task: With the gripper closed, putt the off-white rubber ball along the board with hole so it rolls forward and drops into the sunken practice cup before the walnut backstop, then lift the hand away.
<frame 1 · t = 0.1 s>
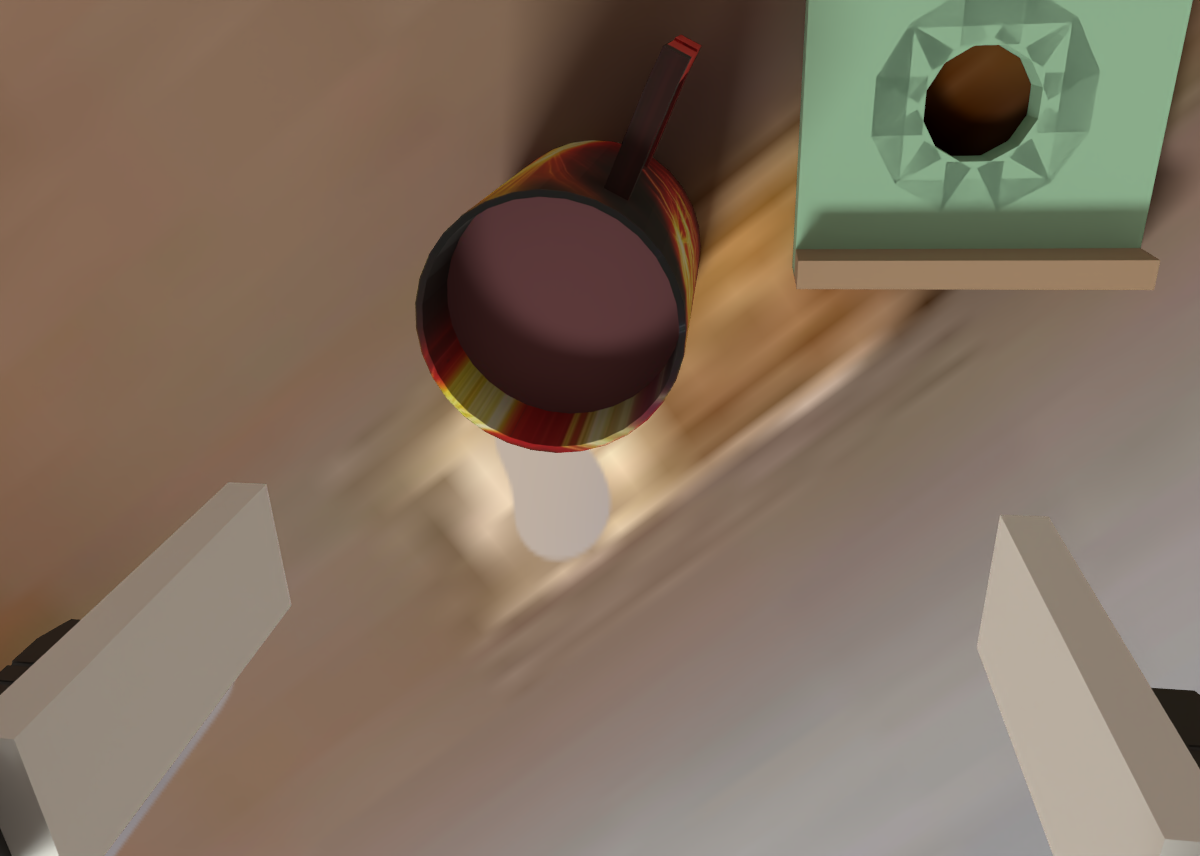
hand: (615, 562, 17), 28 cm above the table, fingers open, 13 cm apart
mug: (596, 200, 42), on the table
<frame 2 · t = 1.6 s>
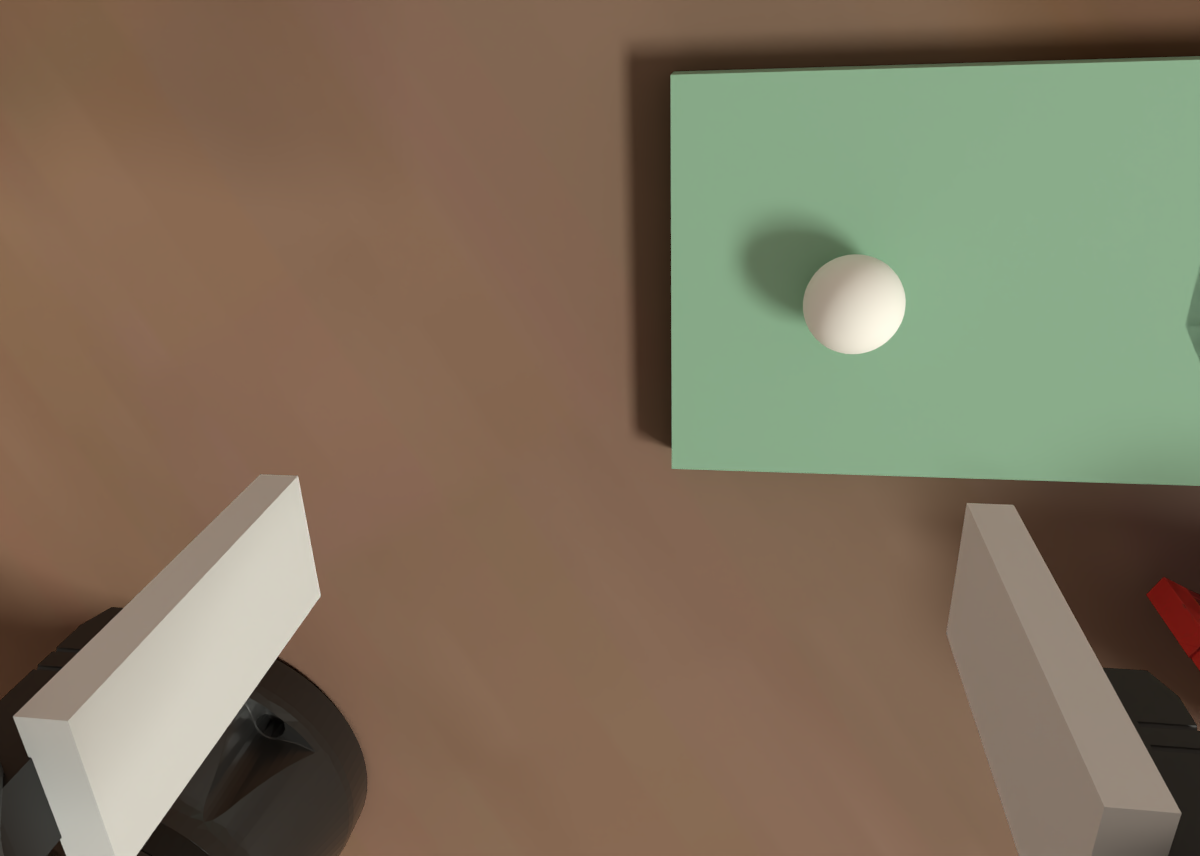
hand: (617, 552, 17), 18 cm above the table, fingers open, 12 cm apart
board with hole: (1083, 278, 31), on the table
ball: (853, 304, 30), point 3 cm above the table, touching board with hole
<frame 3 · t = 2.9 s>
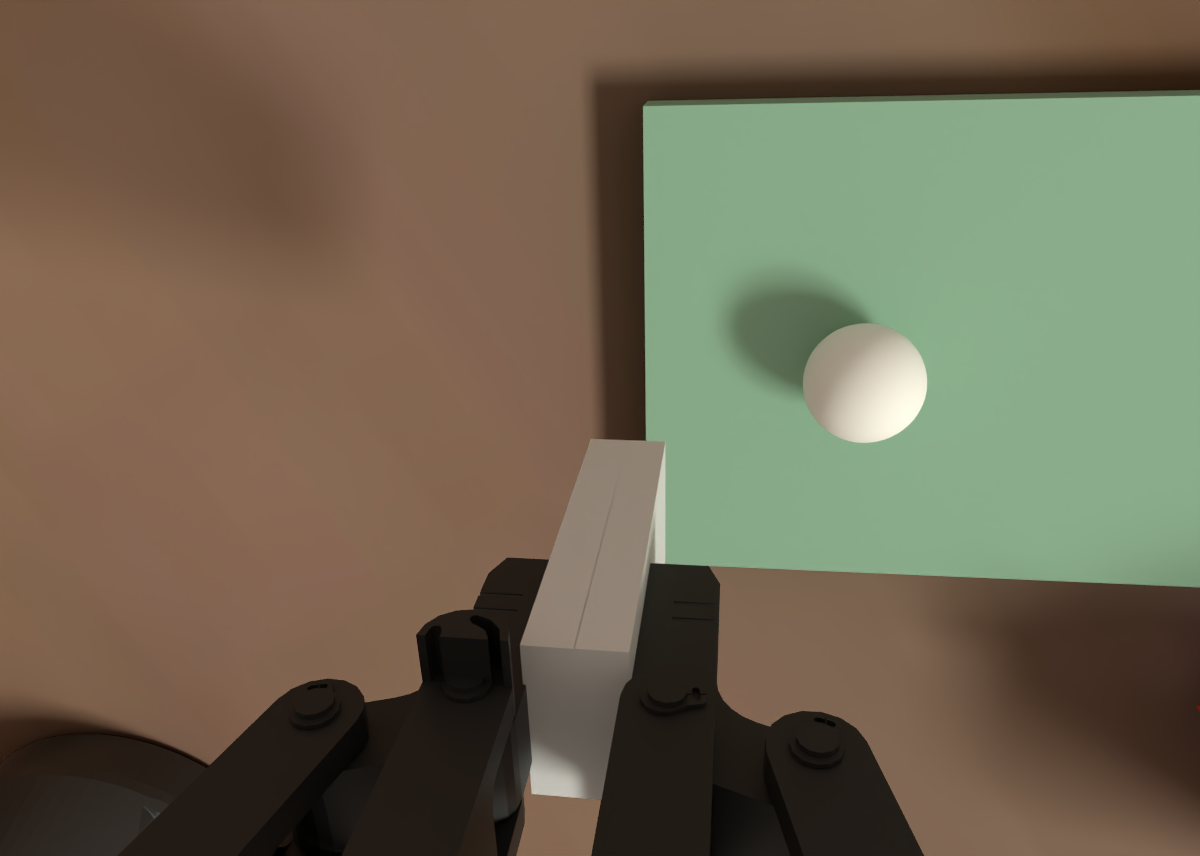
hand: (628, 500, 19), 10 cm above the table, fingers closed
board with hole: (1133, 347, 26), on the table
ball: (863, 383, 24), point 3 cm above the table, touching board with hole
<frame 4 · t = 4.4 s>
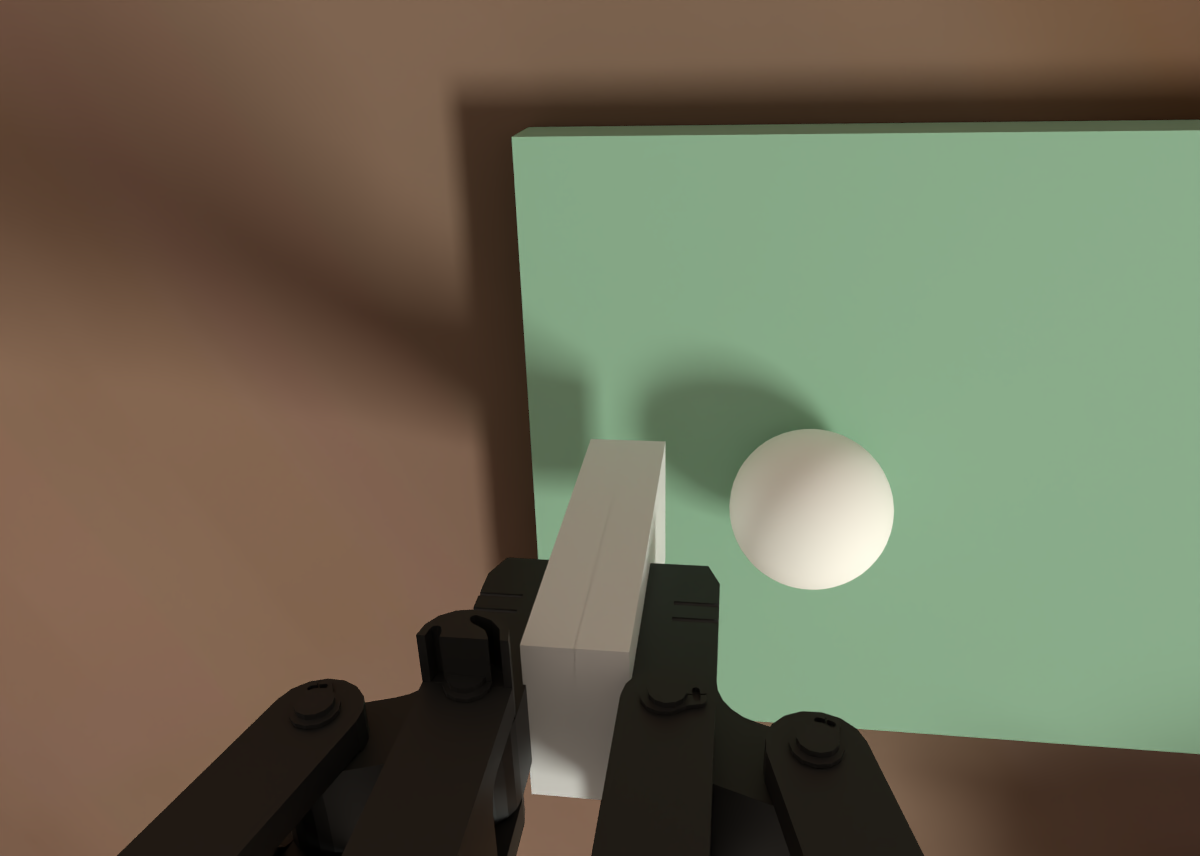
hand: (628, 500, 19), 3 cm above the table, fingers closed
board with hole: (1170, 452, 20), on the table
ball: (810, 508, 18), point 3 cm above the table, touching board with hole
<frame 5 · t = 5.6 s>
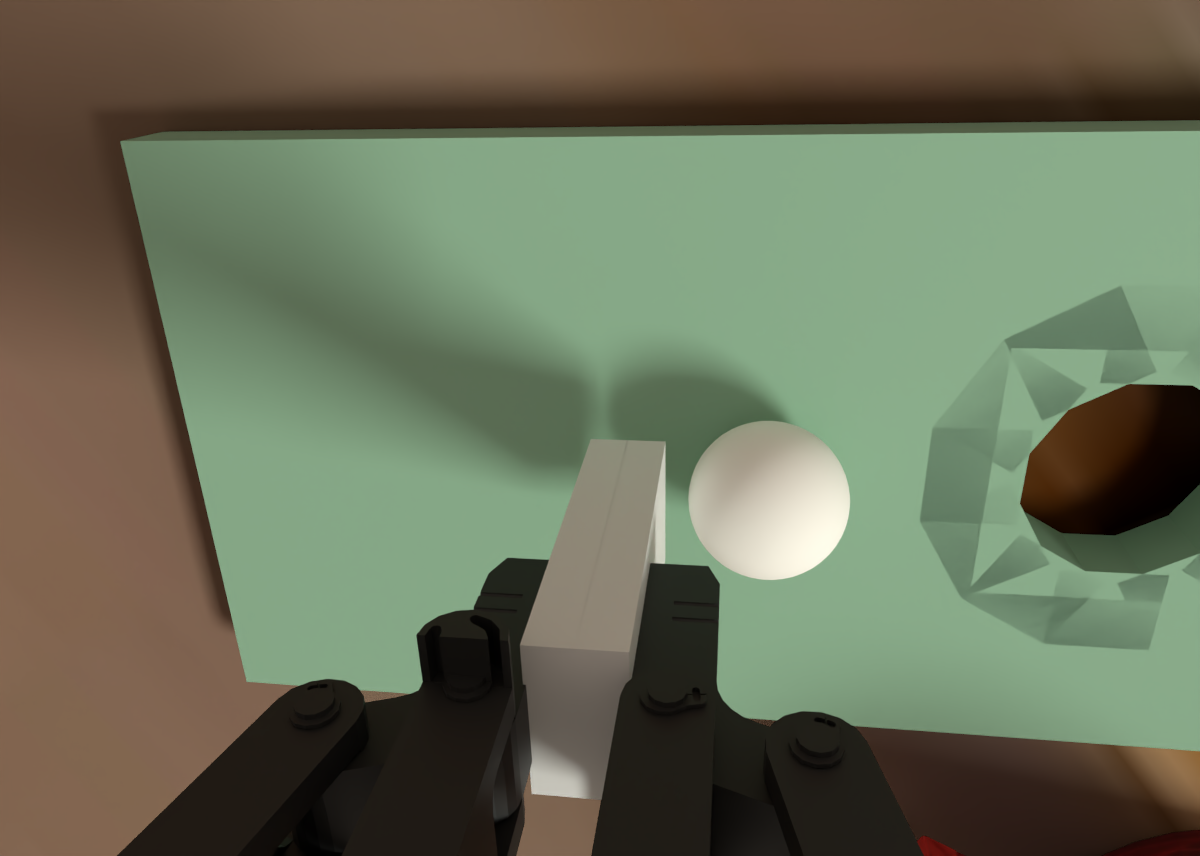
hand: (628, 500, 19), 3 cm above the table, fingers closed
board with hole: (788, 438, 21), on the table
ball: (767, 499, 18), point 3 cm above the table, tilted 97°, touching board with hole
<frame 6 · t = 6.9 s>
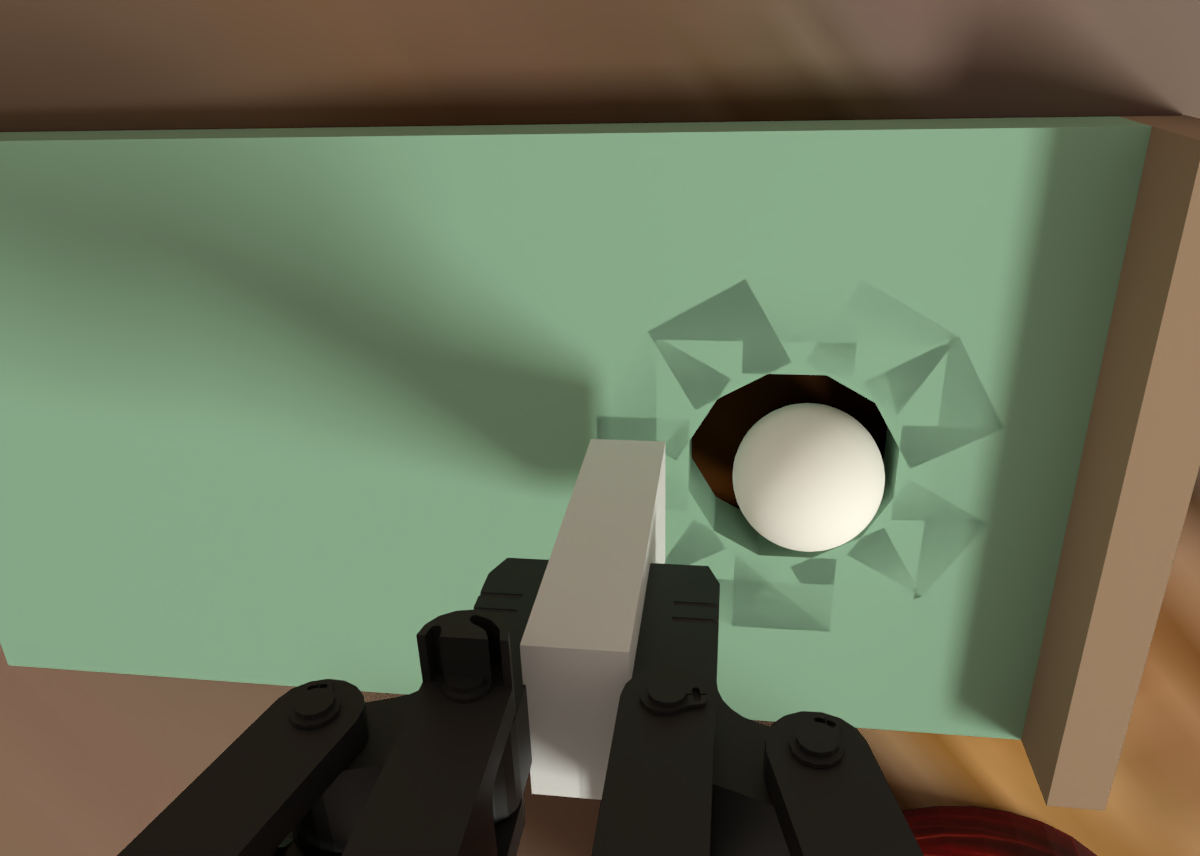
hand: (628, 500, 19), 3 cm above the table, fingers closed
board with hole: (492, 428, 22), on the table
ball: (807, 477, 20), point 2 cm above the table, tilted 148°
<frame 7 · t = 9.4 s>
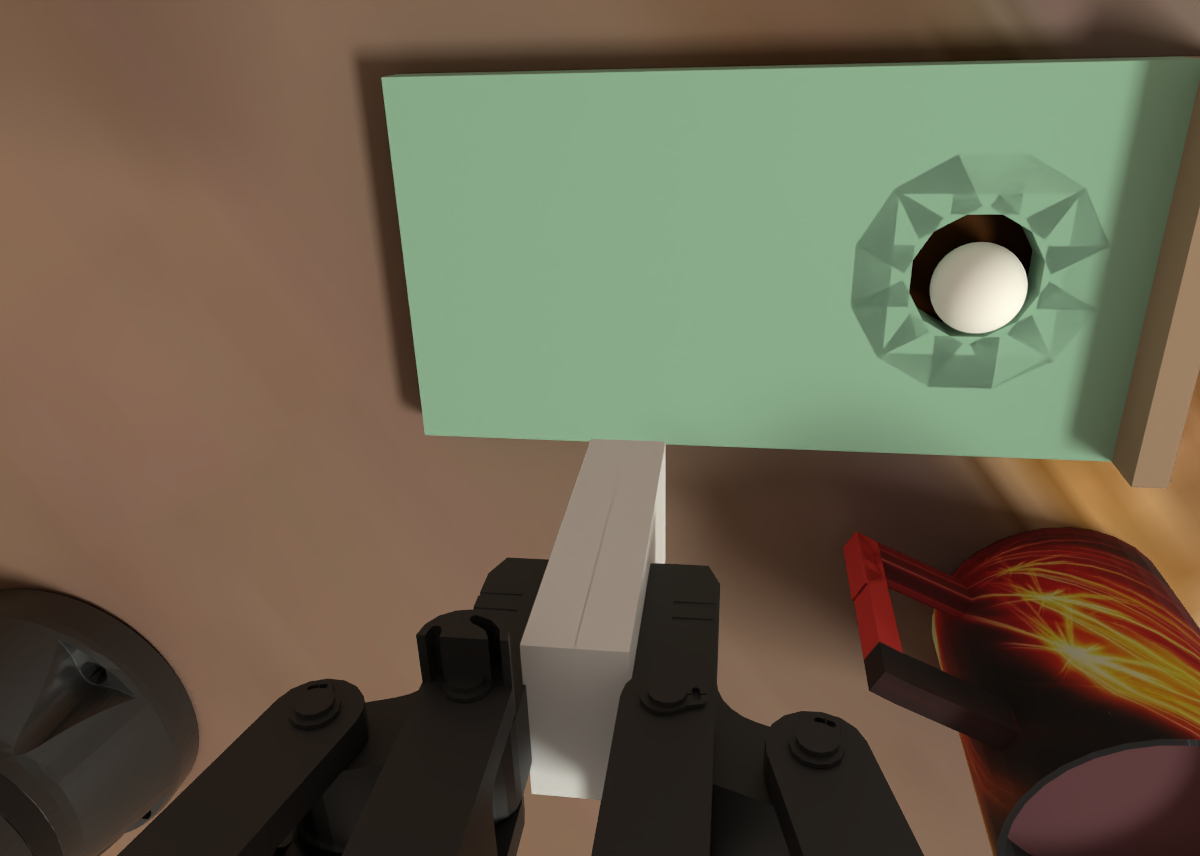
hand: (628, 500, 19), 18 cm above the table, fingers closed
board with hole: (772, 263, 35), on the table
mug: (996, 616, 40), on the table
ball: (977, 288, 32), point 2 cm above the table, tilted 152°
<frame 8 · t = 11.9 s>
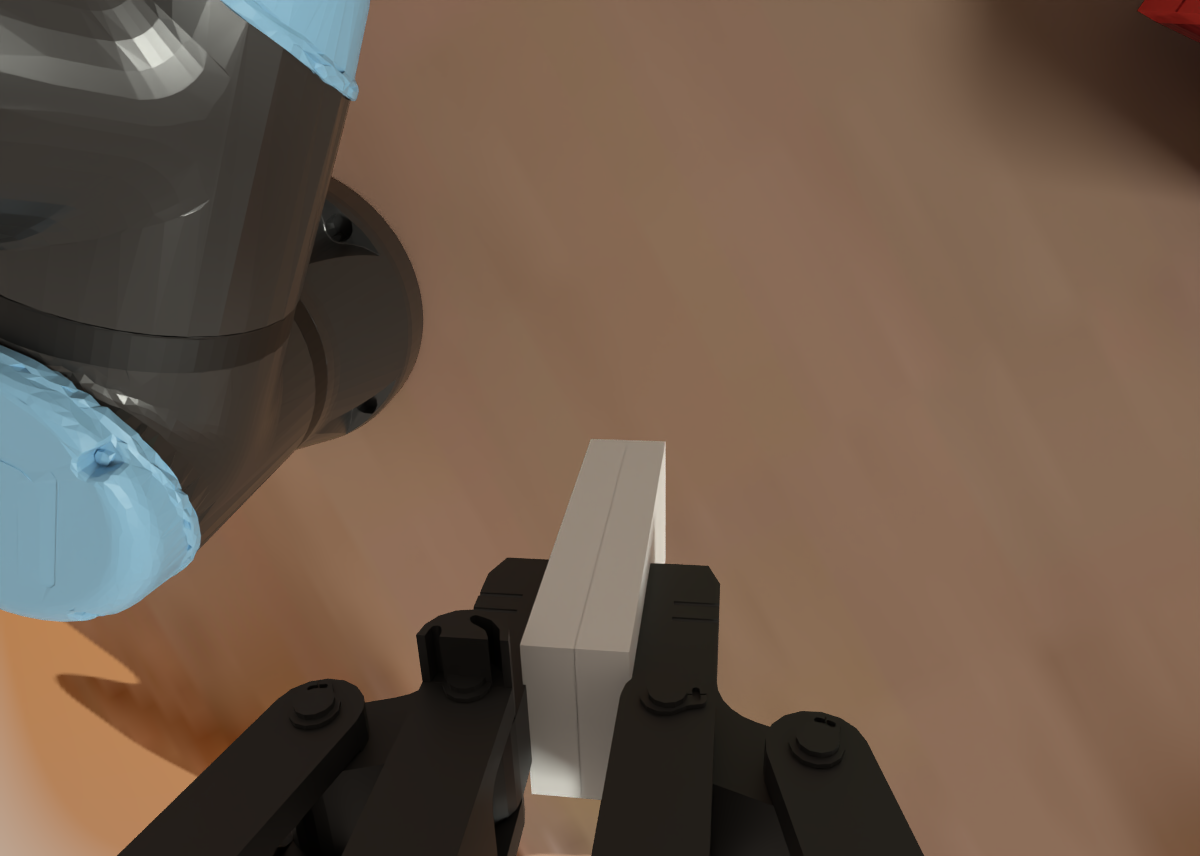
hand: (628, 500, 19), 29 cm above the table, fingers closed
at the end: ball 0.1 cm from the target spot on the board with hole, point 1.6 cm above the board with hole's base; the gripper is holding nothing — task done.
